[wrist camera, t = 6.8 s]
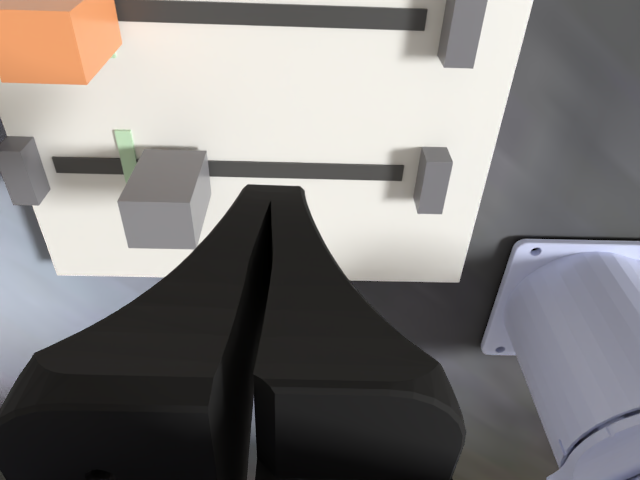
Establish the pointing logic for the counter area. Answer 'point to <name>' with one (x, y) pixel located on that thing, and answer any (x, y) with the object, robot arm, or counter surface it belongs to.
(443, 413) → the robot arm
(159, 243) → the grey rectangular box
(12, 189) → the panel
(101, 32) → the fader orange
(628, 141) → the counter surface
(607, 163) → the counter surface
